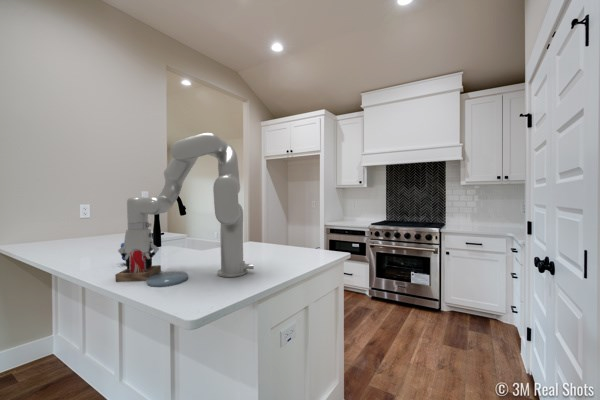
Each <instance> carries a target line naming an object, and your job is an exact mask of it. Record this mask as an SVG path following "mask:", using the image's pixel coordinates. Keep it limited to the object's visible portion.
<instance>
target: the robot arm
mask: <svg viewBox="0 0 600 400" xmlns="http://www.w3.org/2000/svg"><path fill="white" fill-rule="evenodd" d="M170 155H171V157H172V159H170V161H169V163H168V165H167V166H166V167H165V170H164V171H163V175H164V180H165V182H164V186H163V188H162V189H161V192H160V193H159V194H158V196H148V197H144V196H143V197H142V196H139V197H137V196H136V197H128V198H127V199H126V213H127V214H126V217H127V218H126V219H127V221H126V222H127V230H126V231H125V236H124V242H123V243H124V246H123V247H121V246H120V248H119V249H117V252H118V253H119V254H120V256H121V255H122V256H123V257H124V259H125V260H126V261H125V263H126V264H125V266H126V269H130V268H129V254H130V252H131V251H132V250H140V251H141V252H142V253H145V255H146V257H147V259H146V268H147V269H148V268H150V267H151V266H153V258H154V256H155V255H156V254H157V253H158V252H159V250H160V248H159V247H158V246H157V245H155V244H154V239H153V234H152V233H153V232H152V230H151V228H150V227H152V223H150V222H149V215H153V216H154V215H160V214H165V213H167V212H169V211H170V210H171V209H172V208H173V206H174V204H175V203H176V201H177V200H178V197H179V196H180V193H181V191H182V187H183V184H184V181H185V180H186V179H187V177H188V175H189V173H190V171H192V168H193V167H194V165H195V164H196V162H197V160H198V159H199V157H203V156H207V155H208V156H211V157H214V158H216V160H217V170H218V177H217V178H216V179H215V180H214V183H213V187H212V188H213V191H212V192H213V193H212V194H213V205H214V215H215V218H216V220H217V221H218V222H219V224H220V229H219V231H220V234H219V235H220V238H219V239H220V242H219V243H220V269H219V270H217V273H216V274H217V276H218V277H221V278H236V277H240V276H243V275H245V274H247V273H248V270H254V267H255V266H254V264H252V263H246V261H245V260H244V231H243V230H244V210H243V207H242V205H241V204H240V203H239V193H240V191H241V182H240V171H239V161H238V160H239V159H238V154H237V152H236V150H235V149H234V147H233V146H232V145H231V144H229V143H228V142H226V141H225V140H223V139H222V138H220V136H218V135H217V134H215V133H213V132H203V133H200V134H196V135H191V136H188V137H185V138H182V139H179V140H176V141H174V143H172V145H171V147H170ZM124 250H125V252H124ZM122 256H121V257H122Z"/></svg>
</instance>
